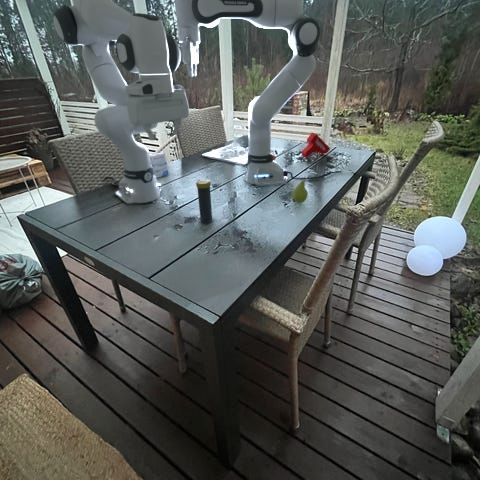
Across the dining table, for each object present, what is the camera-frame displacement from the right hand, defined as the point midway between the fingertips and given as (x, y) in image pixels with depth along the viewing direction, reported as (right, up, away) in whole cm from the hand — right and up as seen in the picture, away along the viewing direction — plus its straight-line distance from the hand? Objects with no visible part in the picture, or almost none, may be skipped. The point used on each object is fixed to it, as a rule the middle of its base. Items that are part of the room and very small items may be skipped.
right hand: (192, 76), depth 120 cm
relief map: (+17, -15, +65) cm, 69 cm away
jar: (+8, -65, -12) cm, 67 cm away
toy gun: (+71, -16, +62) cm, 96 cm away
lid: (+8, -52, -21) cm, 56 cm away
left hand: (-2, -40, -35) cm, 54 cm away
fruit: (+48, -56, +2) cm, 73 cm away
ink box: (-24, -37, +32) cm, 54 cm away
